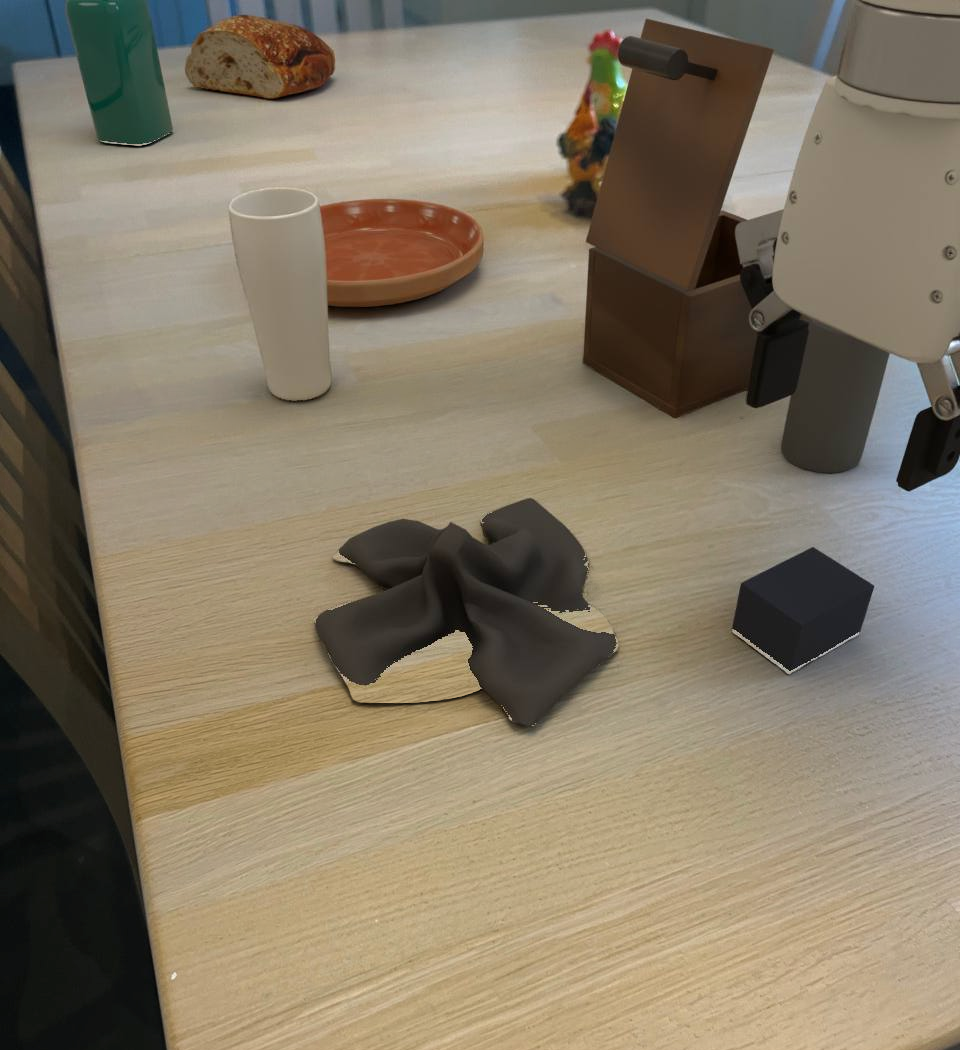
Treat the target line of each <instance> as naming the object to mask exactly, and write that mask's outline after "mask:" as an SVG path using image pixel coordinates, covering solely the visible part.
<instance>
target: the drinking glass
mask: <svg viewBox="0 0 960 1050" xmlns="http://www.w3.org/2000/svg"><path fill="white" fill-rule="evenodd" d="M320 206H321V205H320V200H319V198H318V196H317V195H316V194H315V193H313V192H311V191H309V190H306V189H302V188H296V187H285V186H283V187H282V186H280V187H279V186H278V187H277V186H276V187H266V188H259V189H255V190H250V191H247V192H244V193H241V194H239V195H237V196H236V197H233V198H232V199H231V200H230V201H229V203H228V205H227V209H228V217H229V225H230V232H231V233H230V234H231V240H232V246H233V252H234V256H235V261H236V265H237V270H238V274H239V277H240V282H241V285H242V289H243V293H244V296H245V301H246V303H247V307H248V311H249V315H250V319H251V323H252V327H253V330H254V334H255V338H256V341H257V342H256V343H257V345H258V349H259V353H260V357H261V361H262V365H263V370H264V376H265V383H266V386H267V388H268V390H269V392H270V393H271V394H272V395H274V397H276V398H278V399H280V398H281V400H284V399H285V400H284V401H289V400H291V402H298V401H297V400H303V401H308V399H309V400H312V398H313V399H316V398H318V397H320V396H322V395H324V394H325V393H326V392H327V391H329V389H330V388H331V385H332V382H333V376H332V375H333V374H332V367H331V357H330V356H331V355H330V354H331V353H330V331H329V328H330V327H329V305H328V298H327V267H326V250H325V239H324V231H323V224H322V217H321V212H320ZM315 397H316V398H315Z"/></svg>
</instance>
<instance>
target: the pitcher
mask: <svg viewBox="0 0 960 1050" xmlns="http://www.w3.org/2000/svg"><path fill="white" fill-rule="evenodd" d="M64 11H65V15H66V20H67V23H68V27H69V31H70V35H71V39H72V43H73V47H74V51H75V56H76V59H77V60H76V61H77V65H78V67H79V71H80V75H81V79H82V83H83V88H84V92H85V96H86V99H87V103H88V108H89V112H90V116H91V120H92V124H93V127H94V131H95V136H96V139H97V140H98V141H99V140H101V141H108V142H117V143H127V144H143V143H149V142H153V141H154V140H157V139H158V138H161V137H163V136H164V135H166V134H168V133H170V132H172V133H173V131H174V126H173V120H172V116H171V112H170V107H169V101H168V96H167V92H166V86H165V82H164V76H163V71H162V68H161V66H162V65H161V62H160V56H159V53H158V47H157V46H158V45H157V42H156V37H155V32H154V27H153V22H152V16H151V12H150V7H149V3H148V1H147V0H66V1H65V6H64ZM172 130H173V131H172Z"/></svg>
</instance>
